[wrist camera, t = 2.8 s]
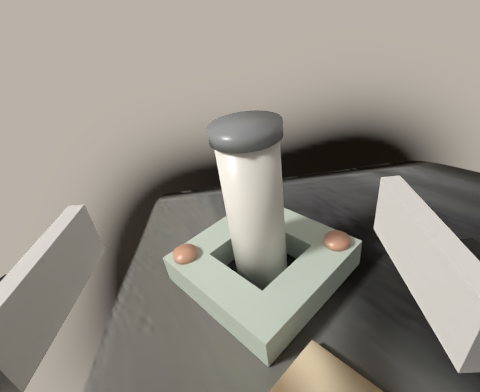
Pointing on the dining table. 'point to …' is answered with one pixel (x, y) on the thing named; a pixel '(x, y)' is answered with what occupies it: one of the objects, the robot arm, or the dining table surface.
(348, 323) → the dining table surface
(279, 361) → the dining table surface
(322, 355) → the board
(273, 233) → the cylinder
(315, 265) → the frame
